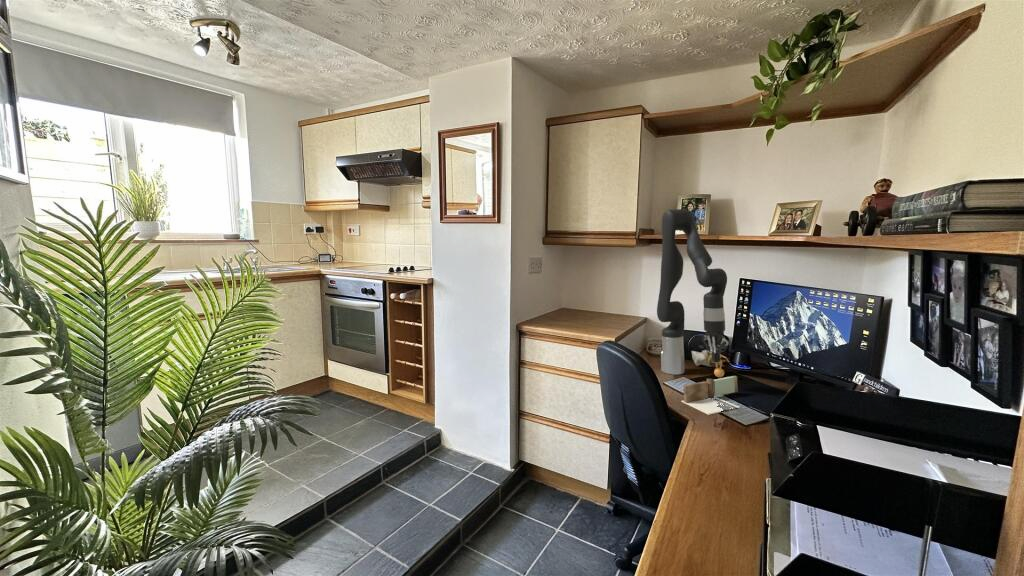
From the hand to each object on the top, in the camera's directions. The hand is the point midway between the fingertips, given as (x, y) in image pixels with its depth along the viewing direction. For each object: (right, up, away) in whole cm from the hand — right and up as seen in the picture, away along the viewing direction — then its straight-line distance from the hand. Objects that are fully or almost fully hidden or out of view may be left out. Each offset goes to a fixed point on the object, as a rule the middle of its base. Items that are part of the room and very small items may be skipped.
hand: (716, 361), depth 156 cm
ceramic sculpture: (+13, -9, +32) cm, 36 cm away
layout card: (-9, -13, -13) cm, 21 cm away
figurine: (+9, -10, +15) cm, 20 cm away
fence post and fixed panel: (-11, -13, -9) cm, 19 cm away
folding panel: (+1, -11, -6) cm, 13 cm away
